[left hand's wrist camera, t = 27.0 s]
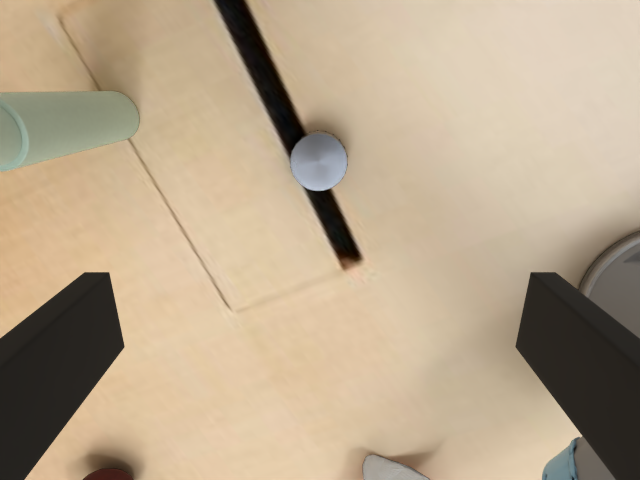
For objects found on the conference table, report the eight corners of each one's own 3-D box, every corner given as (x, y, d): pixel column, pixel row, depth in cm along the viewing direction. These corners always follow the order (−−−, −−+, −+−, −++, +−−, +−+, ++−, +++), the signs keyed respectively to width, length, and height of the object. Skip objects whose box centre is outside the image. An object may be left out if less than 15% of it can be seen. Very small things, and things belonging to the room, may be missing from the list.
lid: (333, 194, 40) (334, 200, 38) (282, 173, 39) (280, 178, 37) (355, 143, 38) (357, 146, 36) (303, 121, 38) (301, 123, 35)
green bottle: (87, 91, 37) (-98, 93, 20) (135, 90, 37) (-12, 92, 20) (97, 140, 38) (-67, 179, 22) (143, 139, 38) (12, 178, 22)
